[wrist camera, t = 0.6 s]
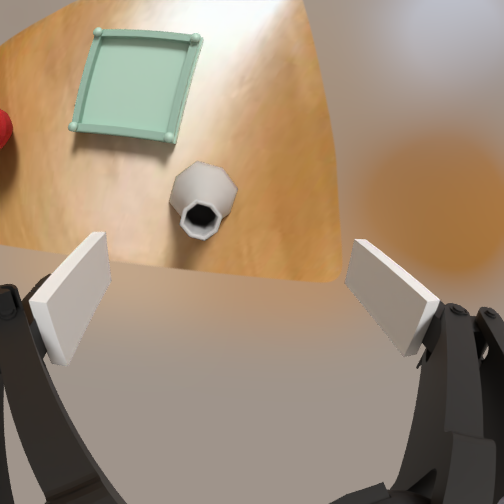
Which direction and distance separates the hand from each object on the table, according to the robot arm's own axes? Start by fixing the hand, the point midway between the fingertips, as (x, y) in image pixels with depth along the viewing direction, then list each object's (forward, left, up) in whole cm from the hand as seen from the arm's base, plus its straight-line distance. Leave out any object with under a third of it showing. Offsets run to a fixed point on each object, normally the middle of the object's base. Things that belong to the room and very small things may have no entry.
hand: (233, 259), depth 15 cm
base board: (-12, +10, -18) cm, 24 cm away
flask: (-2, -1, -18) cm, 19 cm away
